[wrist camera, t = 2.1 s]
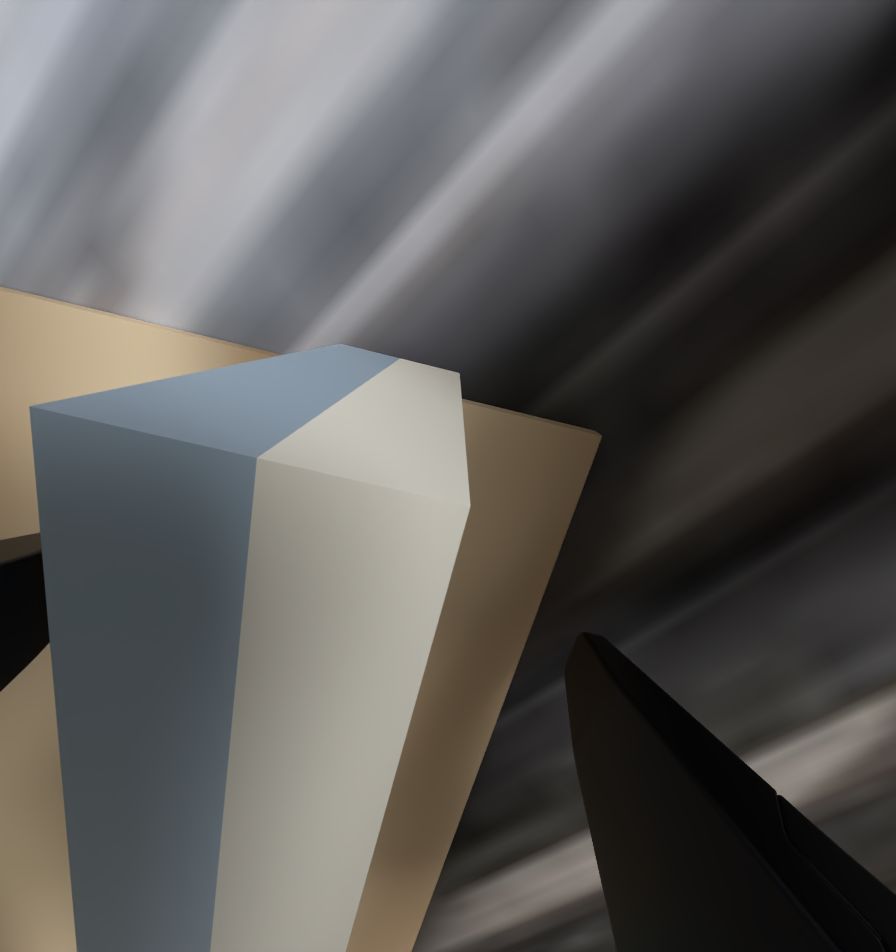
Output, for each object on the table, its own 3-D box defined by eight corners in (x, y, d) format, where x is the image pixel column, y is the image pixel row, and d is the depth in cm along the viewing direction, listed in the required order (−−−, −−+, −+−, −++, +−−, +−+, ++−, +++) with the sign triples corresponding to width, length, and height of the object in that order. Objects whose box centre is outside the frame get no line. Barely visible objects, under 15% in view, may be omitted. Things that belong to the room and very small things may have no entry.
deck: (459, 373, 8) (471, 507, 2) (372, 731, 11) (282, 1176, 5) (339, 343, 8) (30, 407, 2) (284, 715, 11) (94, 1153, 5)
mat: (595, 431, 9) (601, 436, 8) (387, 1003, 16) (385, 1020, 16) (-216, 234, 8) (-251, 229, 7) (-42, 938, 15) (-56, 955, 15)
